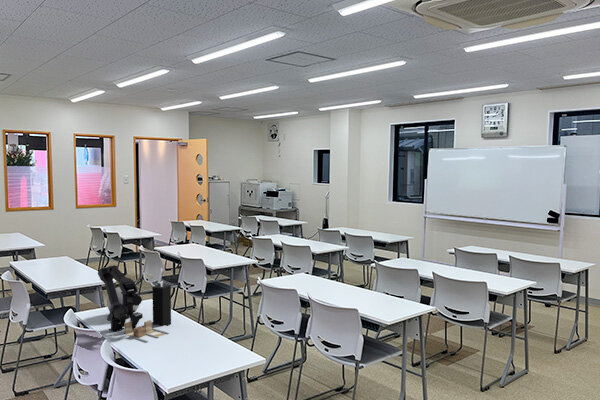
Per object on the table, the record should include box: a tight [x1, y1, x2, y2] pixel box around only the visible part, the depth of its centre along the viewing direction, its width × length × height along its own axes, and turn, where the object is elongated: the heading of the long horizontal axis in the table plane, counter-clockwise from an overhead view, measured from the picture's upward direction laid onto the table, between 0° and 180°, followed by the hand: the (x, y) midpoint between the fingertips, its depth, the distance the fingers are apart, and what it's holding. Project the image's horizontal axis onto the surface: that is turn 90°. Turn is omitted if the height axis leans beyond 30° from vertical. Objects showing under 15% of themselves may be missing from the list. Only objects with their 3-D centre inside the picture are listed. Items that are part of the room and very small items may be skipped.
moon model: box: [106, 286, 140, 318], centre depth 296 cm, size 20×20×20 cm
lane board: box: [128, 327, 170, 343], centre depth 260 cm, size 15×16×2 cm
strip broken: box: [143, 319, 166, 338], centre depth 263 cm, size 13×5×7 cm, turn 58°
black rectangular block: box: [151, 280, 172, 327], centre depth 279 cm, size 8×8×28 cm
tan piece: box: [123, 320, 147, 339], centre depth 260 cm, size 13×5×7 cm, turn 58°
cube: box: [132, 326, 146, 339], centre depth 258 cm, size 4×4×4 cm
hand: (128, 328), depth 263 cm, fingers open, 9 cm apart
